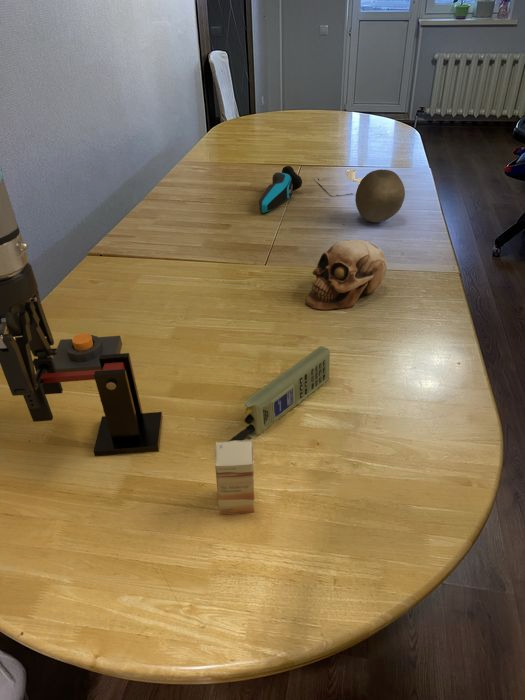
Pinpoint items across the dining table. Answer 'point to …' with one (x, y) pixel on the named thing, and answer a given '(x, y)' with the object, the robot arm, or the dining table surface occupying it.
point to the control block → (85, 354)
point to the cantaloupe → (379, 195)
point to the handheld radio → (285, 392)
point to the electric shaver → (280, 189)
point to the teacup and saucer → (352, 176)
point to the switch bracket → (123, 412)
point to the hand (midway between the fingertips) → (48, 405)
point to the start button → (82, 342)
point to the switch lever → (72, 374)
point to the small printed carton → (235, 476)
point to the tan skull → (346, 274)
